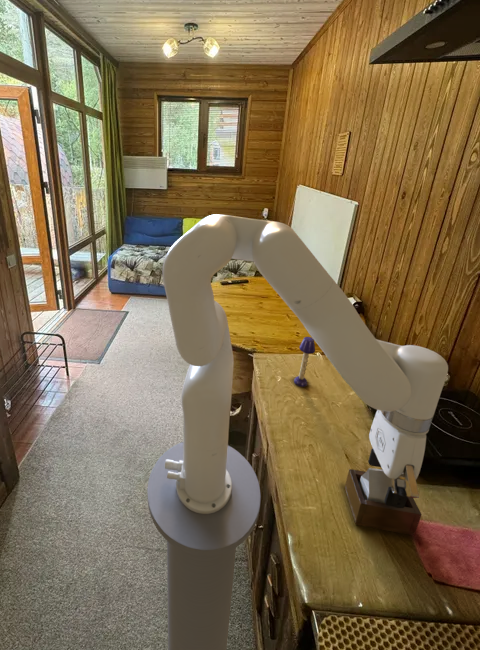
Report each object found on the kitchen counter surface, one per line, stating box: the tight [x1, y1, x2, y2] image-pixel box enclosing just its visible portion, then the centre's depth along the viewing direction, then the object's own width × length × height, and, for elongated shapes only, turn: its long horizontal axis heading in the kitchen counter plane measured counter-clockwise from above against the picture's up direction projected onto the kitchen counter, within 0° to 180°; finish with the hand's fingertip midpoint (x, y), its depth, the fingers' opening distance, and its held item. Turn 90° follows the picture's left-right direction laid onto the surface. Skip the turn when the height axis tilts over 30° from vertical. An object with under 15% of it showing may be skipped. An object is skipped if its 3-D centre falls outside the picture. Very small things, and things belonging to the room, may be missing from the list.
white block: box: [359, 467, 404, 503], centre depth 61 cm, size 4×7×10 cm, turn 84°
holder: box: [344, 468, 422, 536], centre depth 62 cm, size 11×7×6 cm
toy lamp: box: [293, 336, 316, 388], centre depth 99 cm, size 5×5×17 cm
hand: (384, 483), depth 61 cm, fingers open, 7 cm apart
